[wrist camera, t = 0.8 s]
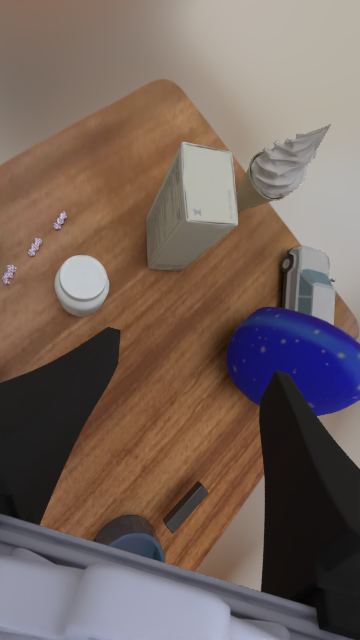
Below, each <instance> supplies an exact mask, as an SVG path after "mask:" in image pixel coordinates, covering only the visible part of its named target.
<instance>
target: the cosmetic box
mask: <svg viewBox="0 0 360 640" xmlns="http://www.w3.org/2000/svg"><path fill="white" fill-rule="evenodd" d="M237 225H238V213H237V200H236V189H235V178H234V169H233V159H232V153H231V152H228V151H224V150H219V149H215V148H210V147H206V146H201V145H197V144H192V143H187V142H182V143H181V145H180V147H179V149H178V151H177V154H176V156H175V158H174V160H173V162H172V164H171V166H170V168H169V171H168V173H167V175H166V177H165V179H164V181H163V183H162V185H161V188H160V190H159V192H158V194H157V196H156V198H155V200H154V203H153V205H152V207H151V209H150V211H149V213H148V215H147V217H146V239H147V260H148V269H153V270H173V271H183V270H185V269H186V268H187V267H188V266H189V265H190V264H192V263H193V262H194V261H195V260H196V259H198V258H199V257H200V256H201V255H202V254H204V253H205V252H206V251H207V250H208V249H210V248H211V247H212V246H213V245H214V244H215V243H217V242H218V241H219V240H220V239H222V238H223V237H224V236H225V235H226V234H227V233H229V232H230V231H231V230H232V229H233V228H235V227H236V226H237Z"/></svg>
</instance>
